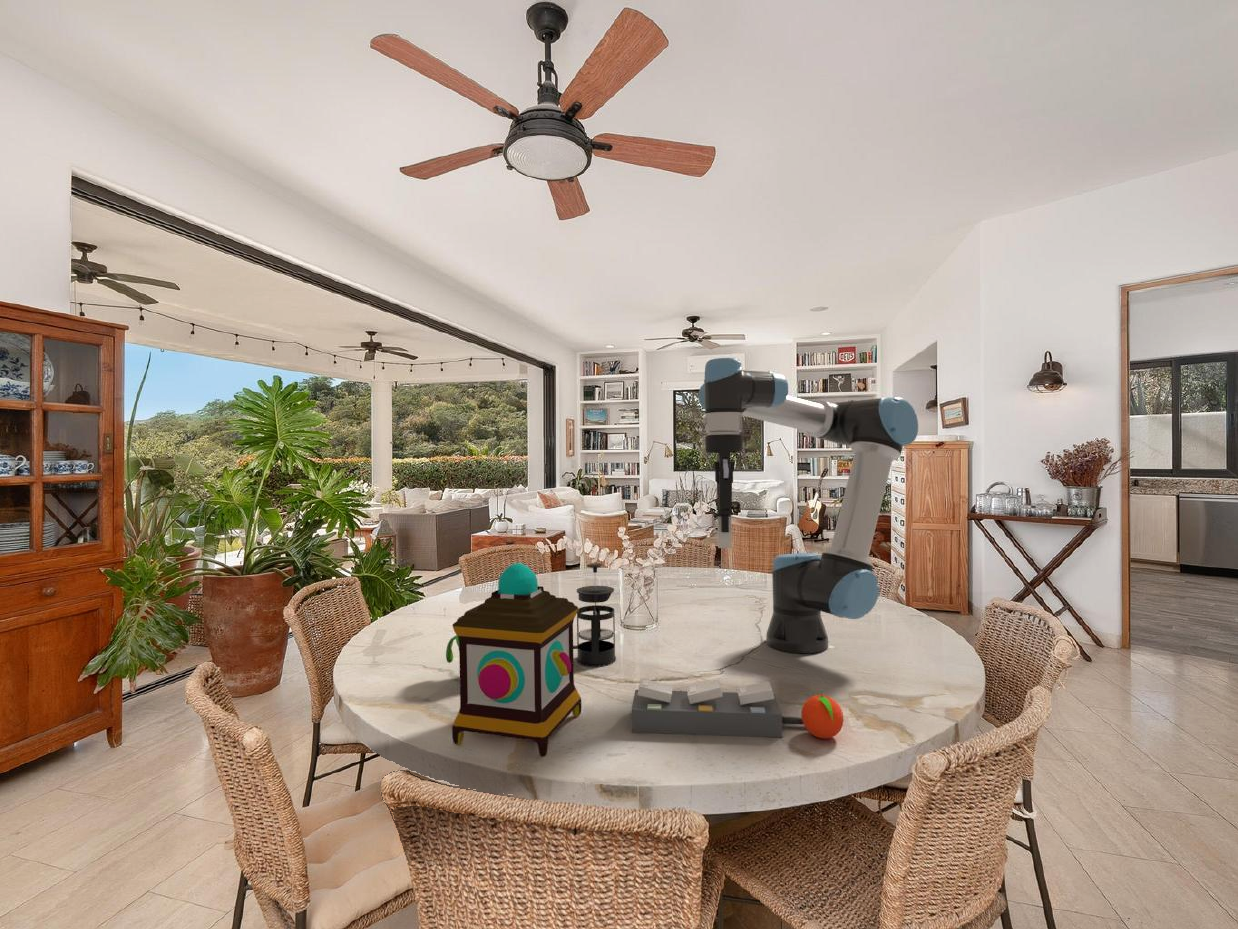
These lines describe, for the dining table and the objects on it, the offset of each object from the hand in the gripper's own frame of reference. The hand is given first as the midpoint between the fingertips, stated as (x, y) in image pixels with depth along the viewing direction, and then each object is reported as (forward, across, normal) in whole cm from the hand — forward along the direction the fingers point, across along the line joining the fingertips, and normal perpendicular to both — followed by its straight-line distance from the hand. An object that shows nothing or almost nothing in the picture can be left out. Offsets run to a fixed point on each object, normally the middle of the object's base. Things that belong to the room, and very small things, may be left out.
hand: (724, 547), depth 126 cm
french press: (+30, -15, -30) cm, 45 cm away
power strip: (+29, +17, -2) cm, 34 cm away
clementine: (+30, +21, +15) cm, 39 cm away
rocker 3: (+24, +17, +4) cm, 29 cm away
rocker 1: (+24, +17, -14) cm, 32 cm away
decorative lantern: (+30, +22, -38) cm, 53 cm away
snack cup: (+30, -1, -53) cm, 61 cm away
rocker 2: (+24, +17, -5) cm, 30 cm away
